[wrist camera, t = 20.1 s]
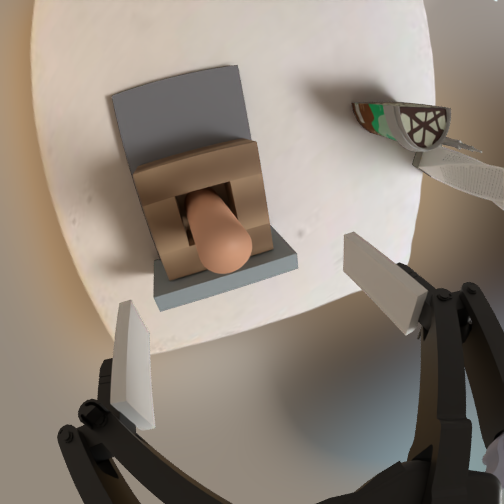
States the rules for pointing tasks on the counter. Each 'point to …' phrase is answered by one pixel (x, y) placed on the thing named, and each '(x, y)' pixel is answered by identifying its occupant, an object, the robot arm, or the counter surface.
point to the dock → (185, 139)
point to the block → (194, 178)
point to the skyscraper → (462, 171)
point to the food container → (405, 123)
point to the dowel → (216, 232)
